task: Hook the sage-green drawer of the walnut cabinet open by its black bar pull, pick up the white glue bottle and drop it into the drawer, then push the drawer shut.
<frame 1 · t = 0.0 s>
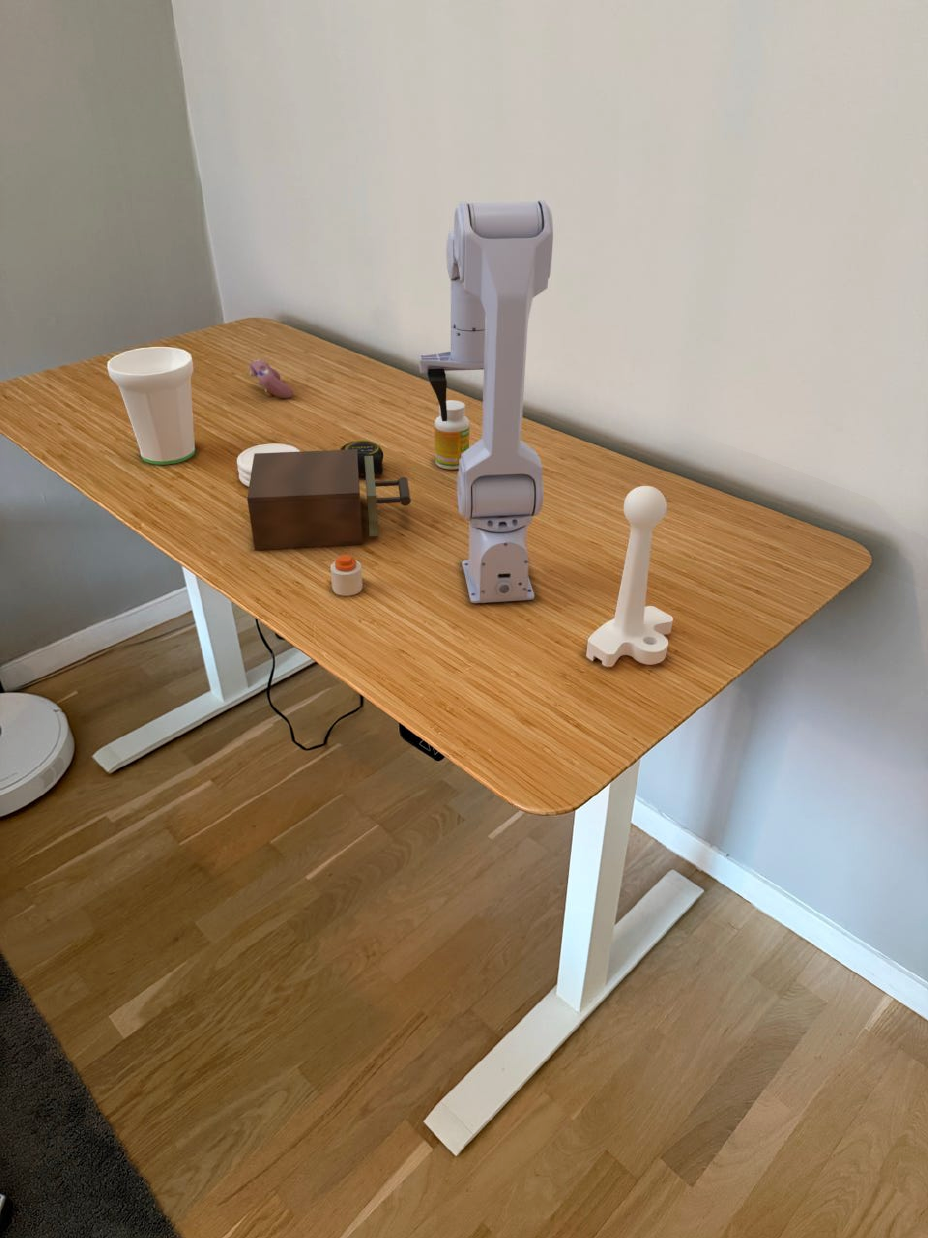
hand: (470, 417, 131), 10 cm above the table, tool pointing down, fingers open, 7 cm apart
joystick: (635, 650, 103), on the table
cup: (168, 454, 143), on the table
supplement bottle: (451, 464, 141), on the table
glue bottle: (347, 587, 112), on the table
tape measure: (363, 473, 138), on the table
cabinet: (310, 522, 125), on the table
pink animal figurine: (271, 392, 165), on the table
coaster: (272, 477, 137), on the table
drawer: (344, 496, 124), point 4 cm above the table, slide at 1.0 cm
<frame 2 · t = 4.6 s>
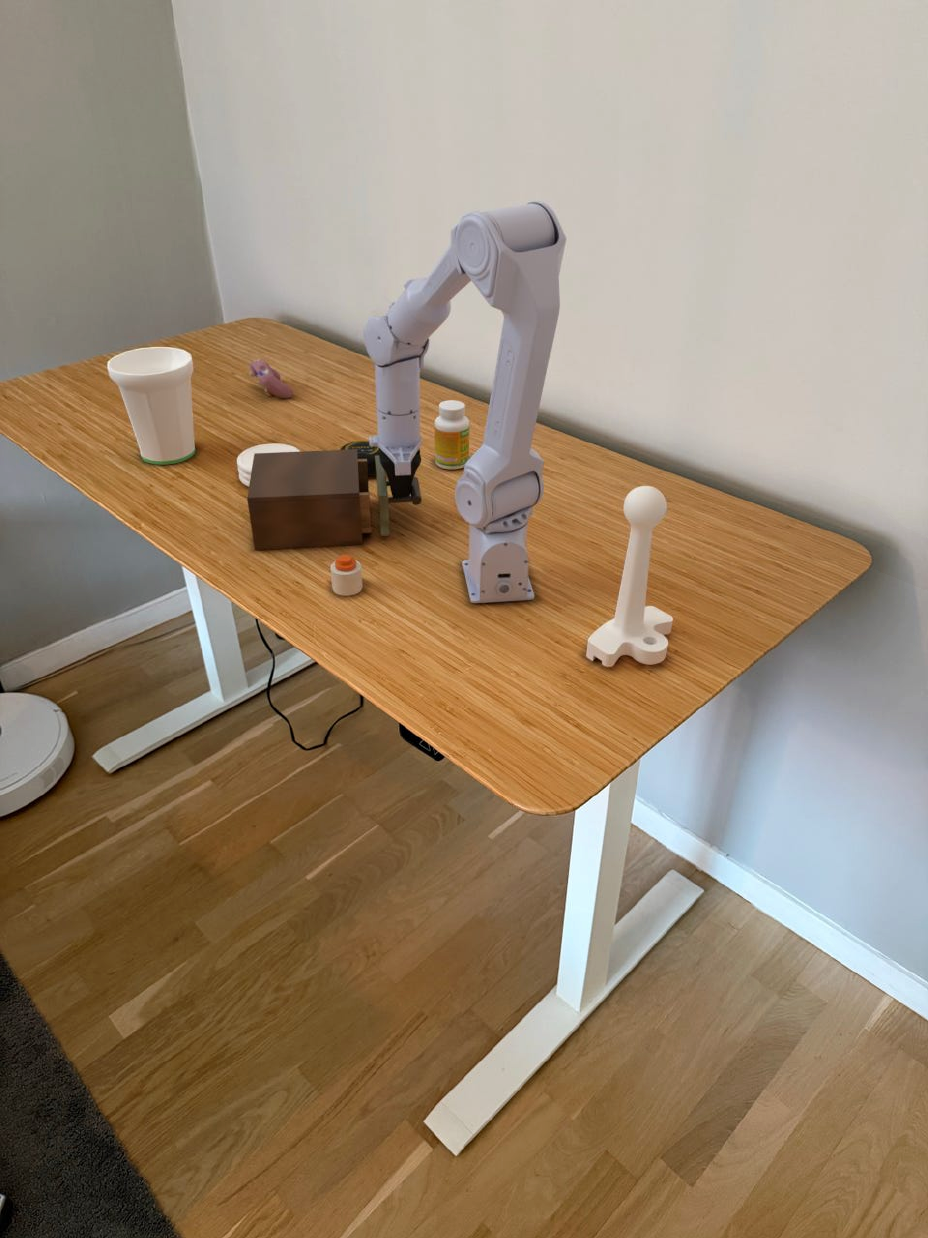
hand: (400, 498, 125), 3 cm above the table, tool pointing down, fingers closed, pressing on drawer
drawer: (355, 495, 124), point 4 cm above the table, slide at 2.5 cm, touching gripper
everything else where it was.
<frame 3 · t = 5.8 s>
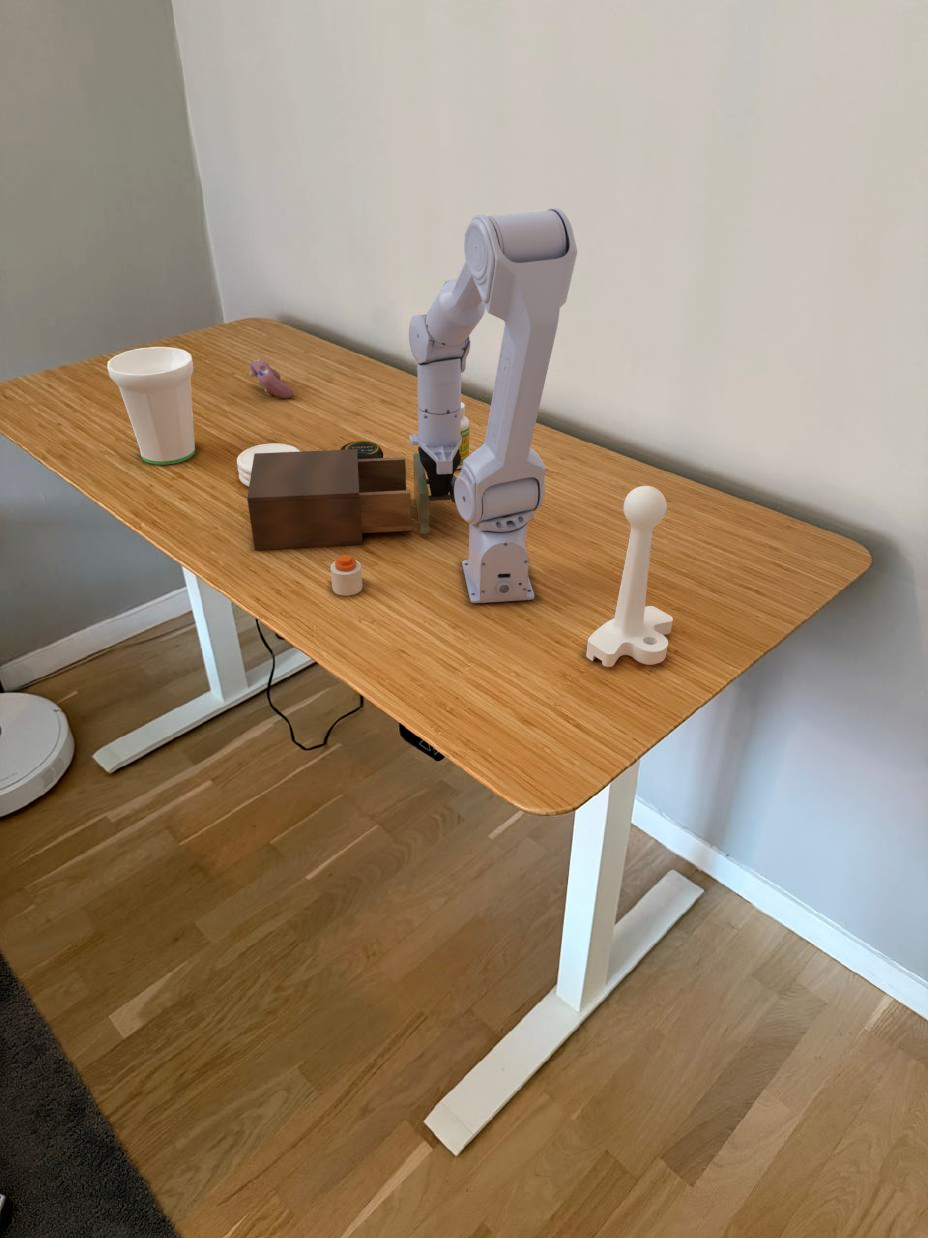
hand: (439, 497, 126), 3 cm above the table, tool pointing down, fingers closed, pressing on drawer
drawer: (394, 493, 124), point 4 cm above the table, slide at 8.0 cm, touching gripper
everything else where it was.
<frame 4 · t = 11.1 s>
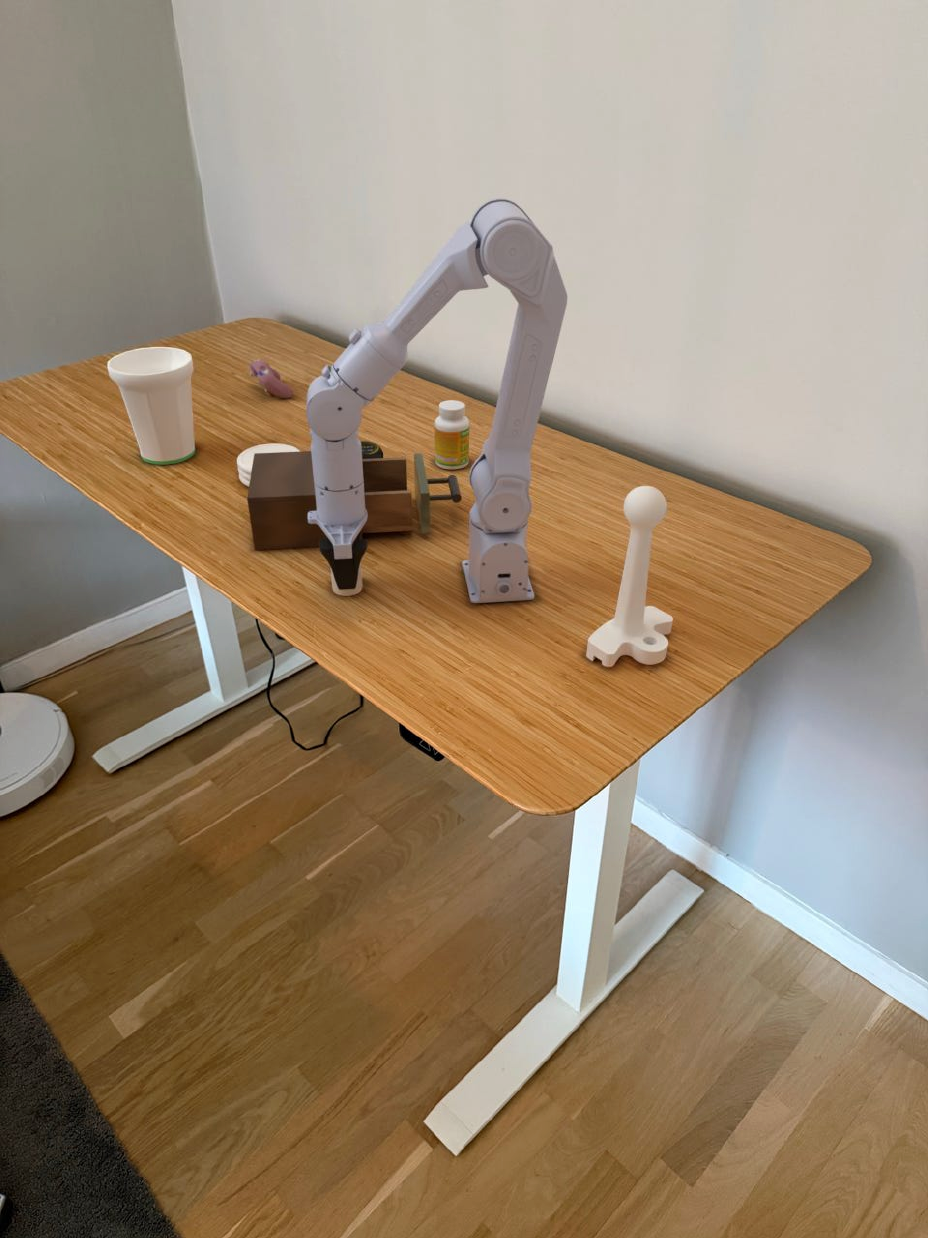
hand: (346, 578, 111), 1 cm above the table, tool pointing down, fingers closed on glue bottle, 4 cm apart
glue bottle: (347, 587, 112), on the table, touching gripper
drawer: (395, 493, 124), point 4 cm above the table, slide at 8.1 cm
everything else where it was.
when the fingers open (4 cm above the table, at t = 16.8 s): glue bottle stays where it is, resting on drawer.
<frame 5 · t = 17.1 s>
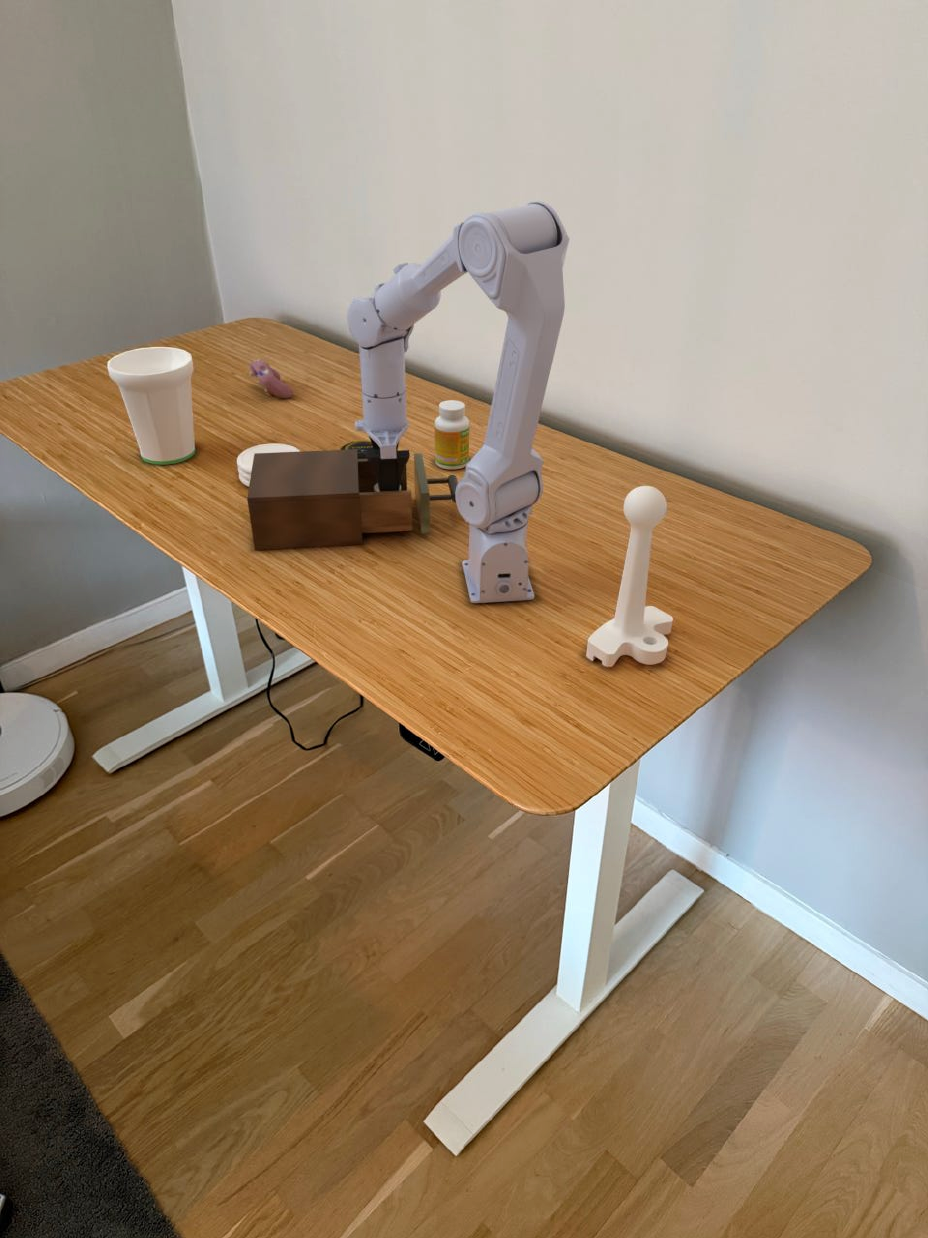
hand: (388, 484, 123), 5 cm above the table, tool pointing down, fingers open, 7 cm apart
glue bottle: (388, 507, 125), point 2 cm above the table, touching drawer
drawer: (395, 493, 124), point 4 cm above the table, slide at 8.1 cm, touching glue bottle
everything else where it was.
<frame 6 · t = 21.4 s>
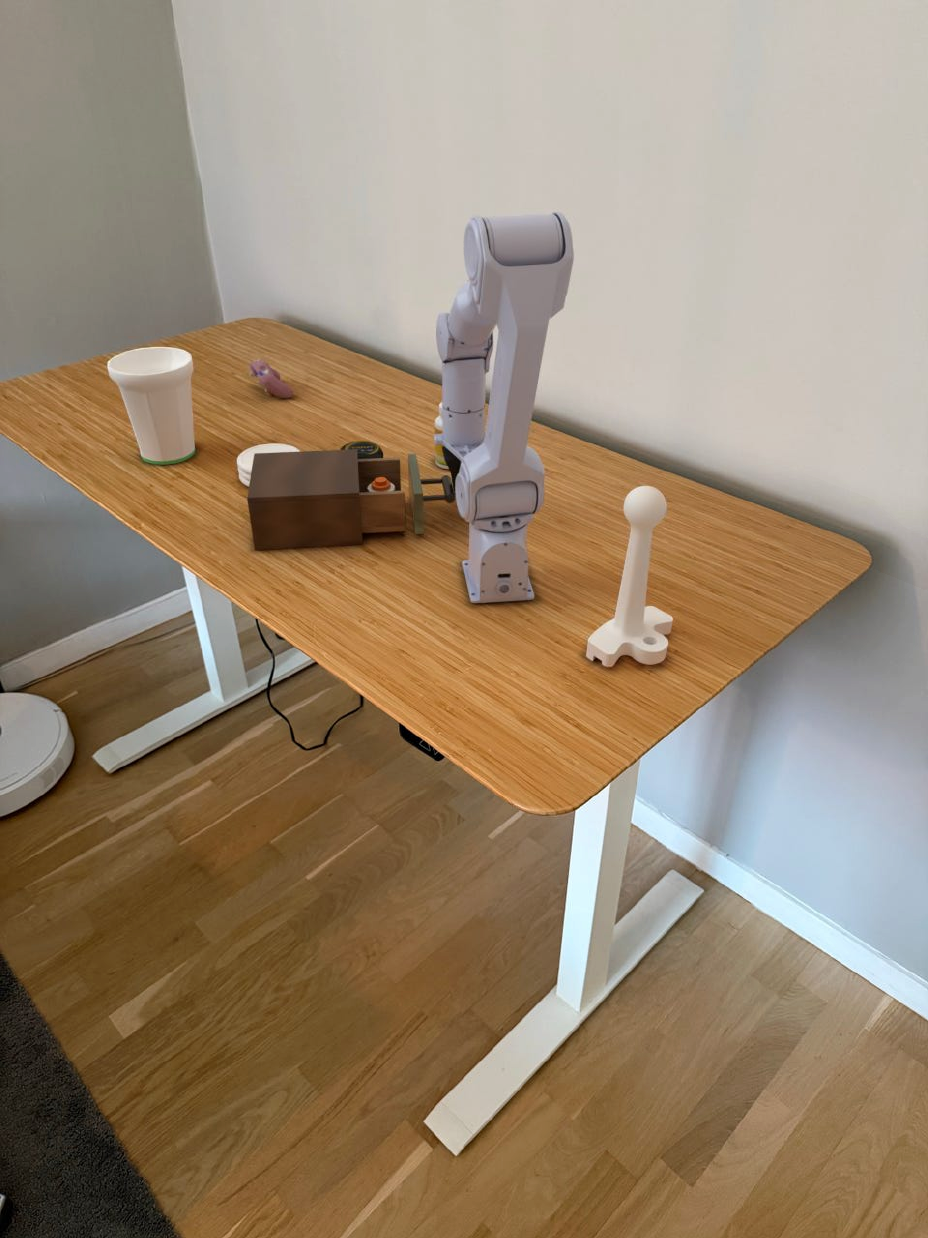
hand: (462, 496, 126), 3 cm above the table, tool pointing down, fingers closed, pressing on drawer
drawer: (388, 494, 124), point 4 cm above the table, slide at 7.2 cm, touching glue bottle, gripper
everything else where it was.
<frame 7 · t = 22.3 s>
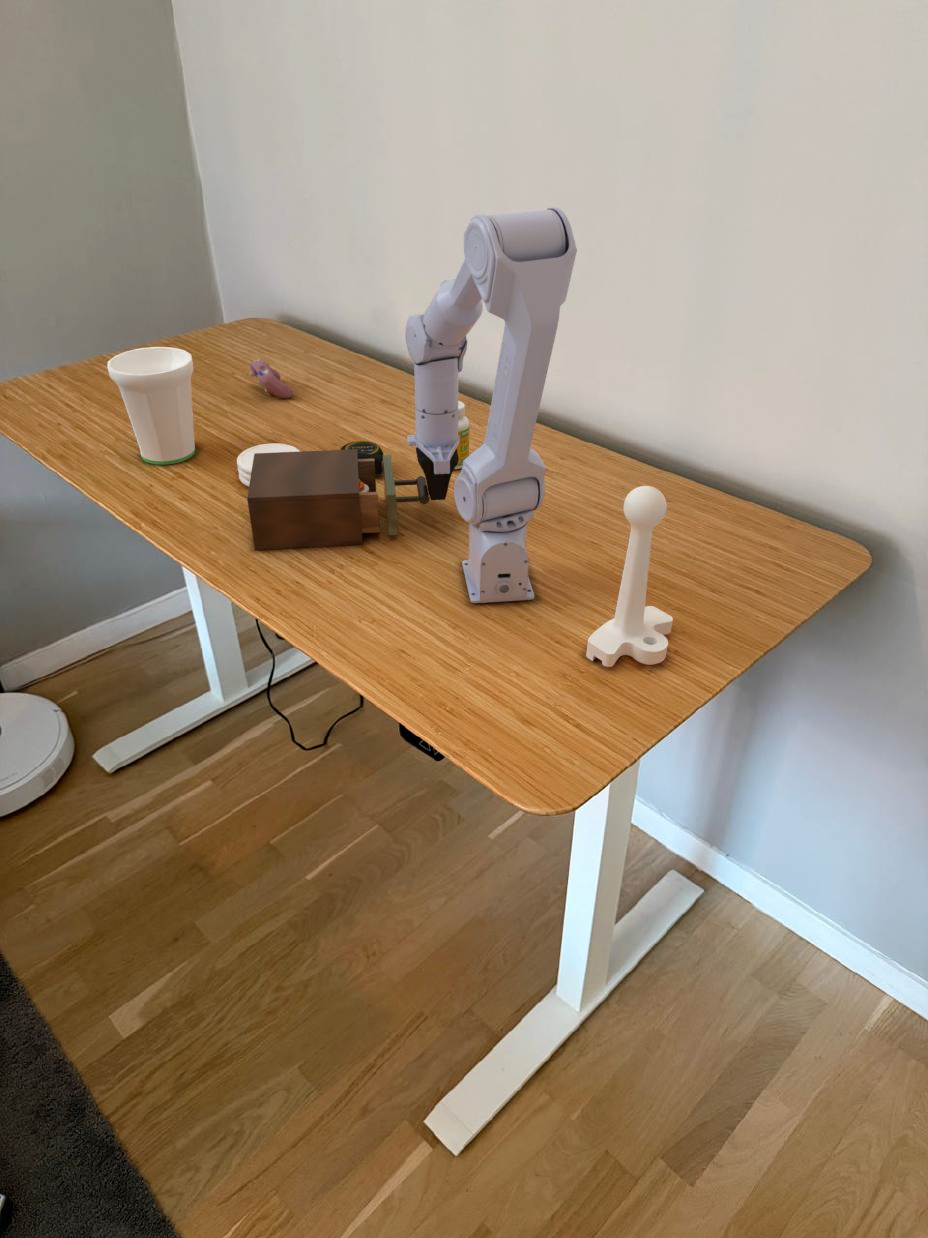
hand: (437, 497, 126), 3 cm above the table, tool pointing down, fingers closed, pressing on drawer
glue bottle: (356, 508, 125), point 2 cm above the table, touching drawer
drawer: (362, 495, 124), point 4 cm above the table, slide at 3.6 cm, touching glue bottle, gripper
everything else where it was.
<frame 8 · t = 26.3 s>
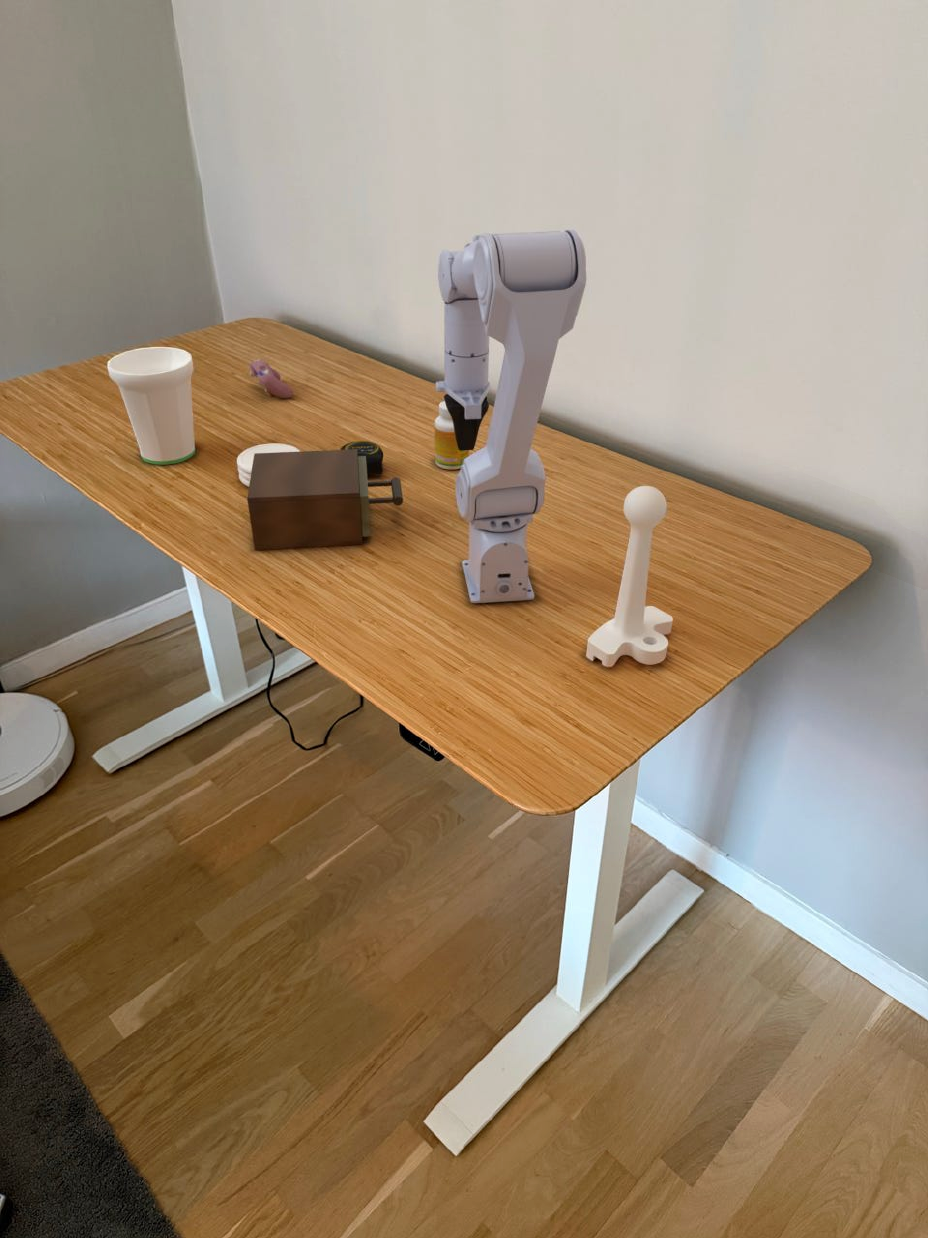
hand: (465, 448, 122), 10 cm above the table, tool pointing down, fingers closed
glue bottle: (330, 510, 125), point 2 cm above the table, touching drawer
drawer: (336, 496, 124), point 4 cm above the table, slide at 0.0 cm, touching glue bottle
everything else where it was.
at the end: drawer pulled out 8.1 cm at the most during the clip, back to where it started at the end; glue bottle inside the target area in the cabinet (2.8 cm from its centre), point 1.9 cm above the cabinet's base; drawer slide at 0.0 cm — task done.
